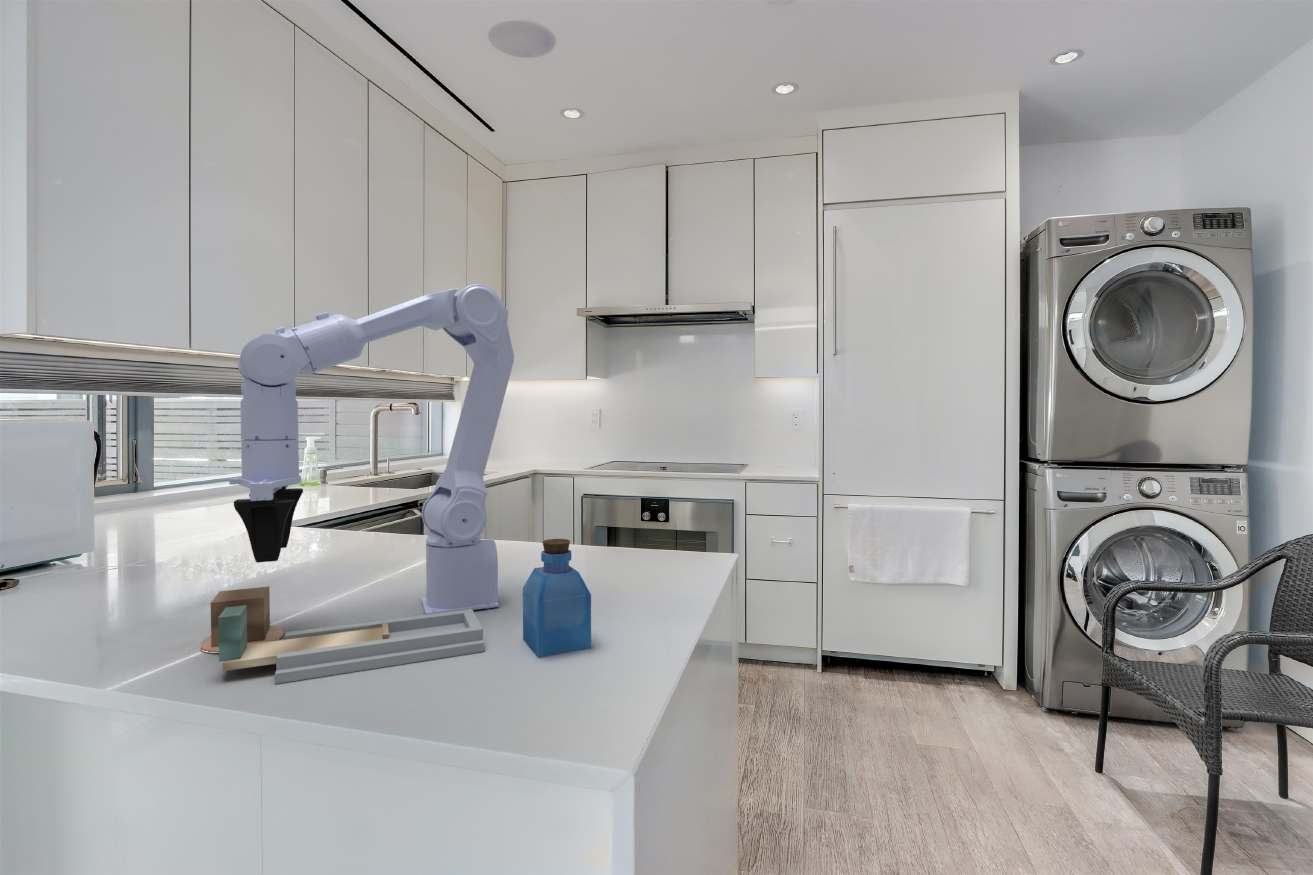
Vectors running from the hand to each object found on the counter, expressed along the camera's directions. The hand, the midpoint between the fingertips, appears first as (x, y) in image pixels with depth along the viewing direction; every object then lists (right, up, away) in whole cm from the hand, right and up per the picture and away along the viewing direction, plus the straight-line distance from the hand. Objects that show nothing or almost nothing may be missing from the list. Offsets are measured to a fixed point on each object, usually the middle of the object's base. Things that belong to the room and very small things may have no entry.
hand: (272, 554), depth 72 cm
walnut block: (-3, -9, -1) cm, 10 cm away
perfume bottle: (+34, -10, -1) cm, 35 cm away
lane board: (+15, -10, -4) cm, 18 cm away
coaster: (-3, -10, -1) cm, 10 cm away
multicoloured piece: (+8, -9, -7) cm, 14 cm away
